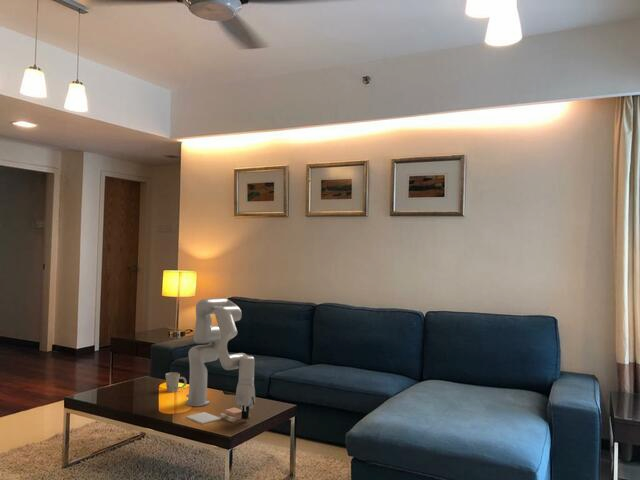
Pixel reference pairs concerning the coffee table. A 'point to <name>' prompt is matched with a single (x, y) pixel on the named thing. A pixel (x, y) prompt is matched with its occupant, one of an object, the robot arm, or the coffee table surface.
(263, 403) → the coffee table surface
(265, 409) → the coffee table surface
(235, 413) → the block
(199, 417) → the mat
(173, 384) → the mug
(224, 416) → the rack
